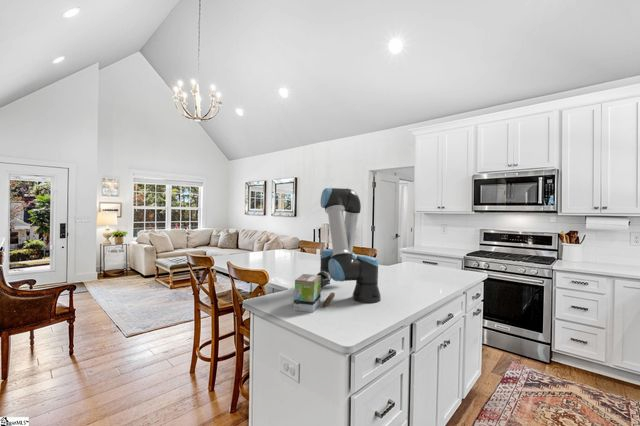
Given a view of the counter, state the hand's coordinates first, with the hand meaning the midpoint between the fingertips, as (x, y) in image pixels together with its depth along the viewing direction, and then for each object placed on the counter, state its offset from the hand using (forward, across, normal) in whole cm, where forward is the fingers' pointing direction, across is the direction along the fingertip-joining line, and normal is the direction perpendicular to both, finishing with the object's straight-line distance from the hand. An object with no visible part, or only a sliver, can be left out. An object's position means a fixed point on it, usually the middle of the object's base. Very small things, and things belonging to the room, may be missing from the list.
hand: (311, 288), depth 158 cm
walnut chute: (-4, -1, -7) cm, 9 cm away
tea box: (+8, 0, -8) cm, 11 cm away
